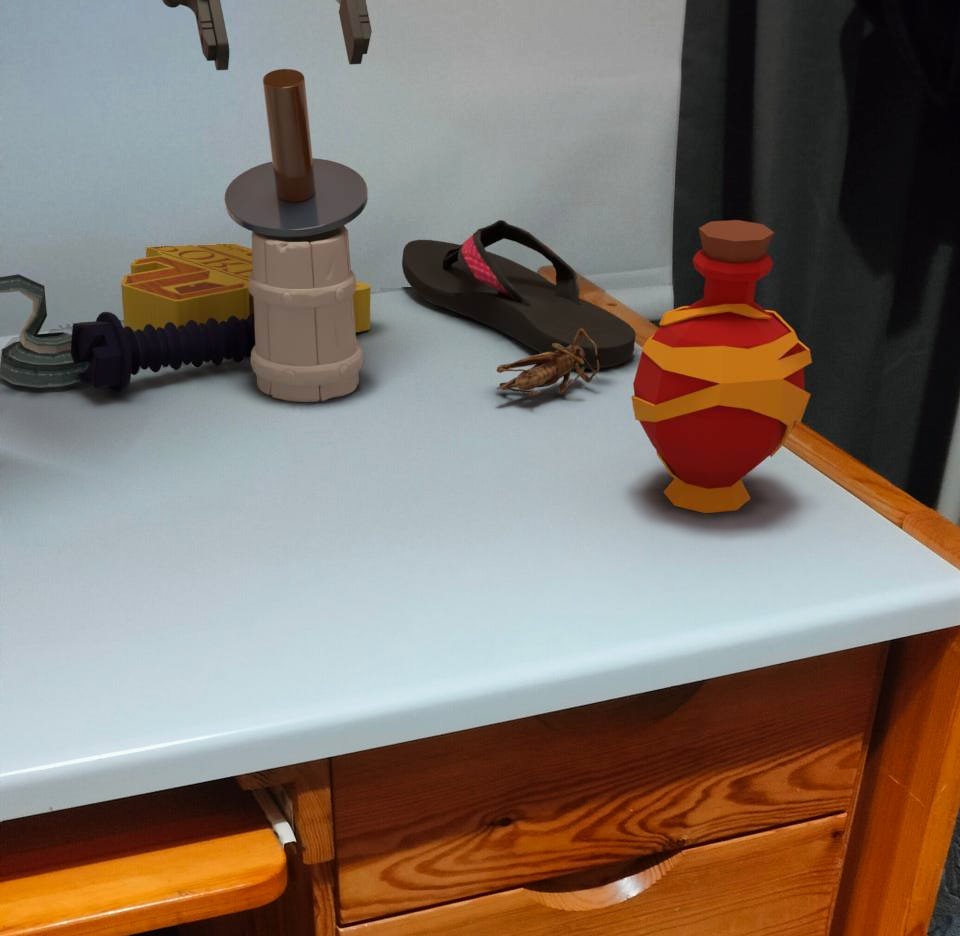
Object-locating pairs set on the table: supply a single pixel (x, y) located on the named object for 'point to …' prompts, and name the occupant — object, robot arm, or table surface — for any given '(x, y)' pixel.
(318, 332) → the mug
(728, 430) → the potion bottle
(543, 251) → the sandal
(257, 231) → the lid
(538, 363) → the insect
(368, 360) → the table surface
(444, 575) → the table surface
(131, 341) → the screw
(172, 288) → the decorative sign
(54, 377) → the stylized snake
